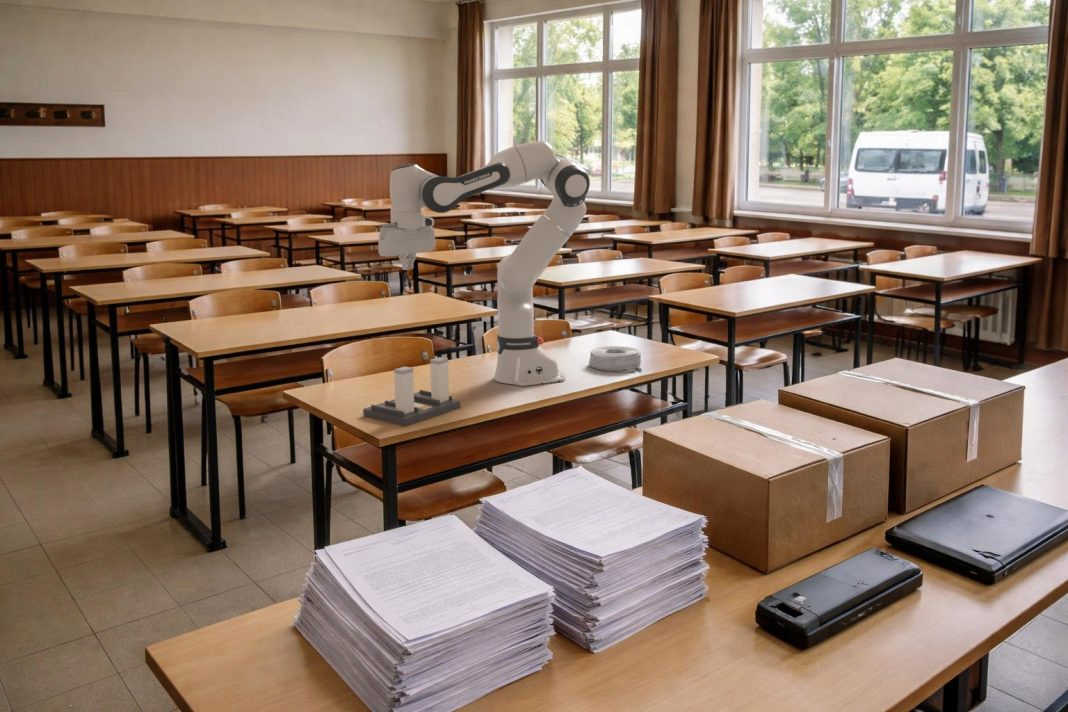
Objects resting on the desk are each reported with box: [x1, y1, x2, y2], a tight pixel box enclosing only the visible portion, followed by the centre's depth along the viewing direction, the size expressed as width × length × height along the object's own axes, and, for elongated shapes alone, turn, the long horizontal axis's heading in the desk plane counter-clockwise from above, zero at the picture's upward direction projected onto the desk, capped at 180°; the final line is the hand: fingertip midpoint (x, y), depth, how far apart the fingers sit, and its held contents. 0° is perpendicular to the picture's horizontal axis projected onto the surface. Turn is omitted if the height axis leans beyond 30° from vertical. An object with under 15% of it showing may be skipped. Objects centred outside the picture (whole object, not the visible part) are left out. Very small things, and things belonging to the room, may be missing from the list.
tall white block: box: [429, 356, 450, 403], centre depth 261 cm, size 3×4×12 cm
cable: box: [588, 345, 643, 373], centre depth 311 cm, size 18×18×6 cm
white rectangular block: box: [393, 366, 415, 414], centre depth 250 cm, size 3×4×12 cm
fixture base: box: [362, 389, 461, 427], centre depth 259 cm, size 16×22×3 cm
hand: (407, 269), depth 272 cm, fingers closed
